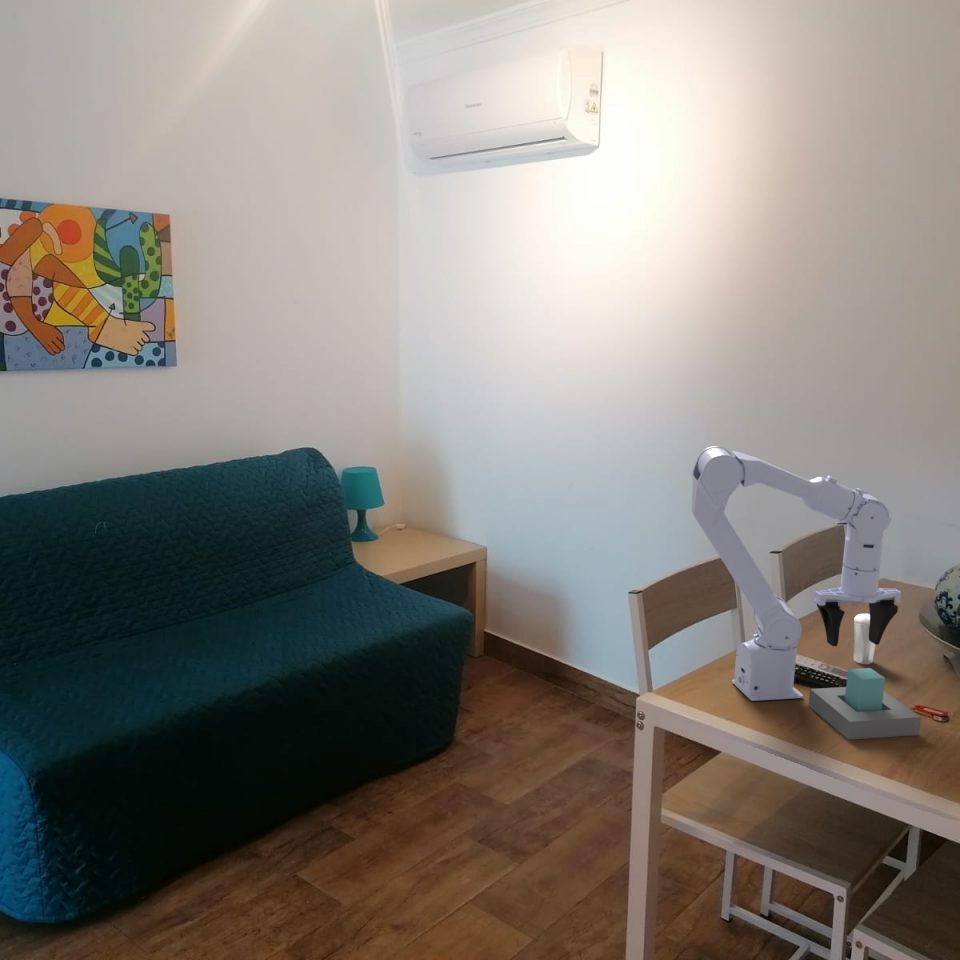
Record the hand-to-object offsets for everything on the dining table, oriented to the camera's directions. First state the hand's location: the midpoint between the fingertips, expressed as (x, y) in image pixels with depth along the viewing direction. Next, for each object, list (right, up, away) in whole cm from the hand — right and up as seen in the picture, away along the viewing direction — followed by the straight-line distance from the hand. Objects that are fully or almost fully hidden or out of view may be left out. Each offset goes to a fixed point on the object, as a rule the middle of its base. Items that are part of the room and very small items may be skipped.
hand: (853, 643), depth 157 cm
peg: (-2, -11, -7) cm, 13 cm away
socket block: (-2, -11, -7) cm, 13 cm away
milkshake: (+9, -7, +17) cm, 20 cm away
